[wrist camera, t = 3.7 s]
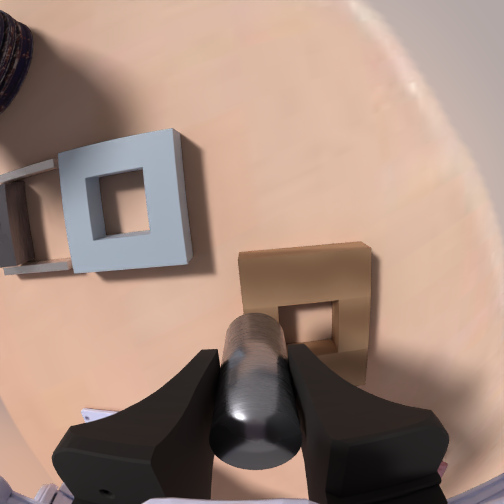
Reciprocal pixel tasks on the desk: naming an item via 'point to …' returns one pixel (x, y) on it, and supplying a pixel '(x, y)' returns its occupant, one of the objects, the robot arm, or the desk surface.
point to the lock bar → (14, 226)
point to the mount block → (317, 296)
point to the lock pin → (255, 397)
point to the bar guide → (39, 265)
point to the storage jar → (13, 57)
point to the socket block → (157, 198)
